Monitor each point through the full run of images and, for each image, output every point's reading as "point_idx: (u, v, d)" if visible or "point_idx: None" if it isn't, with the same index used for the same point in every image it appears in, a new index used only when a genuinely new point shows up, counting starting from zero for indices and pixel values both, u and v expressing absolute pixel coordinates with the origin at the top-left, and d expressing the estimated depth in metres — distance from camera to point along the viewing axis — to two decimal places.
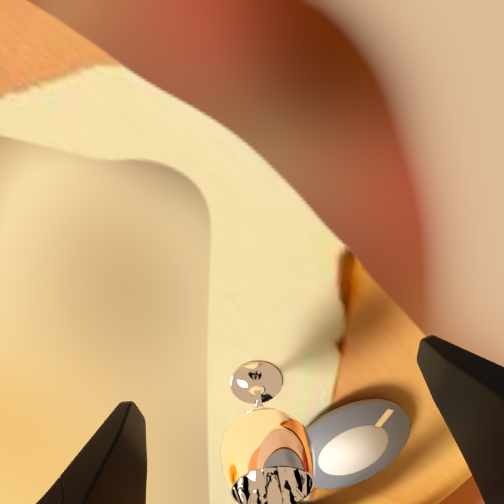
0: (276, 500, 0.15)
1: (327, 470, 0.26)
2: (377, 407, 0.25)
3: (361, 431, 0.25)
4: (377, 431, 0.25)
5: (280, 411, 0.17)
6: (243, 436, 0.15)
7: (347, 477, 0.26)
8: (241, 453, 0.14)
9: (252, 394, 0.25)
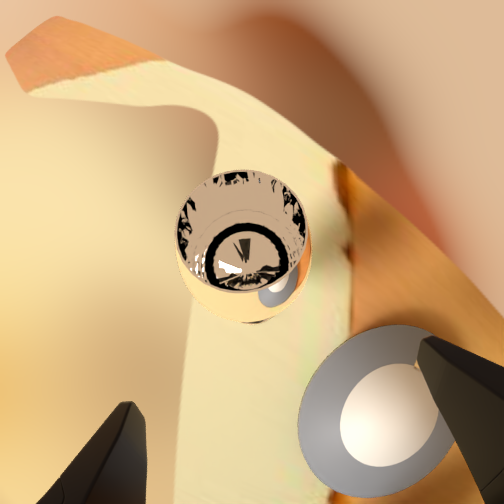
0: (251, 303, 0.11)
1: (355, 453, 0.17)
2: (411, 333, 0.19)
3: (397, 375, 0.18)
4: (420, 379, 0.18)
5: None
6: None
7: (388, 473, 0.16)
8: None
9: None
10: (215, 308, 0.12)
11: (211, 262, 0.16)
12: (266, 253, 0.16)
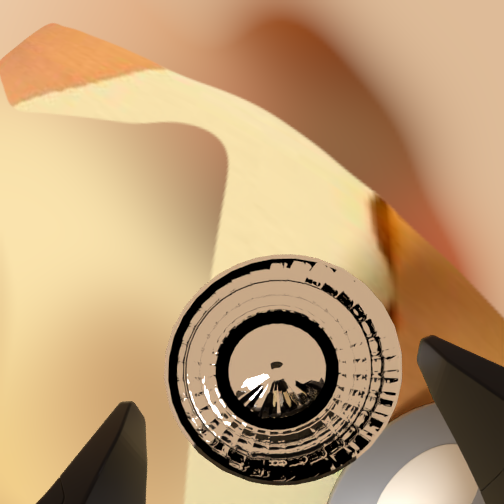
0: None
1: None
2: None
3: (441, 458, 0.12)
4: None
5: None
6: None
7: None
8: None
9: None
10: None
11: (224, 361, 0.11)
12: (302, 346, 0.11)
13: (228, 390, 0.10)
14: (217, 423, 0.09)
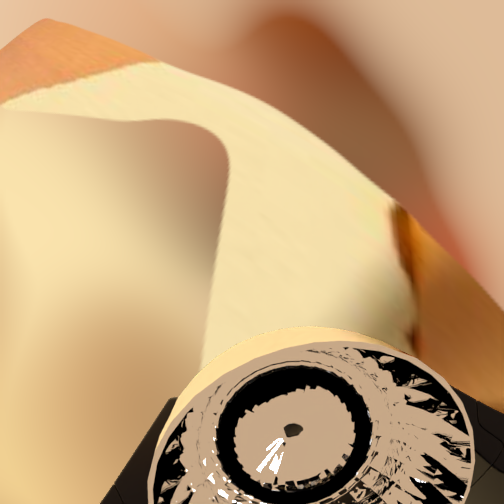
0: None
1: None
2: None
3: None
4: None
5: None
6: (236, 345, 0.06)
7: None
8: (219, 359, 0.05)
9: None
10: None
11: (228, 422, 0.08)
12: (324, 402, 0.08)
13: (233, 454, 0.08)
14: (221, 497, 0.06)
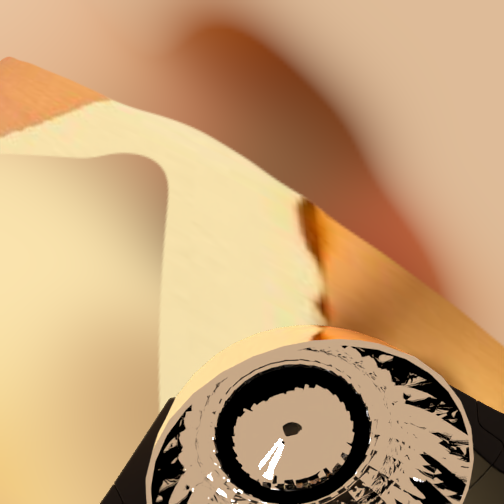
0: None
1: None
2: None
3: None
4: None
5: None
6: (234, 343, 0.06)
7: None
8: (217, 358, 0.05)
9: None
10: None
11: (227, 421, 0.08)
12: (323, 401, 0.08)
13: (232, 453, 0.08)
14: (220, 496, 0.06)
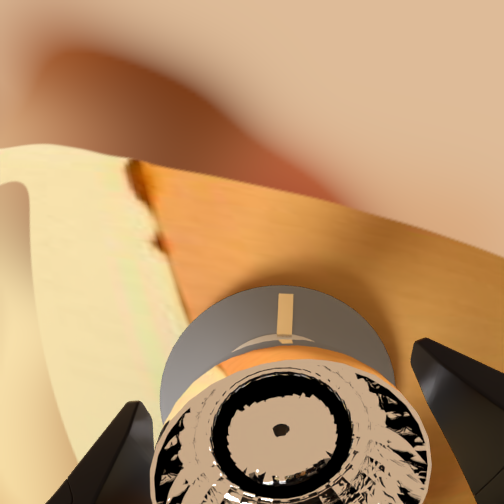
0: None
1: None
2: (254, 297, 0.17)
3: None
4: None
5: None
6: (227, 355, 0.07)
7: None
8: (210, 369, 0.06)
9: None
10: None
11: (222, 422, 0.09)
12: (310, 404, 0.09)
13: (227, 451, 0.08)
14: (215, 490, 0.07)
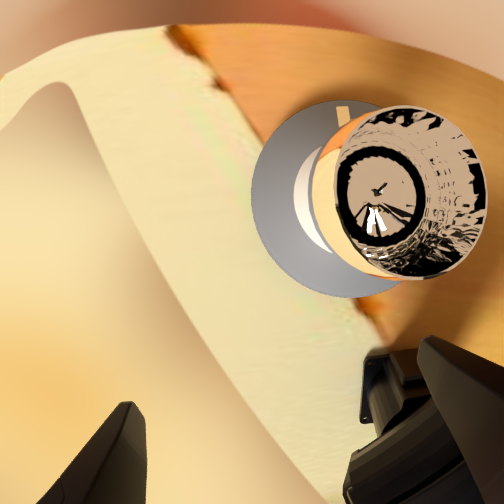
0: None
1: None
2: (316, 111, 0.18)
3: None
4: None
5: None
6: None
7: None
8: (343, 127, 0.08)
9: None
10: None
11: None
12: (390, 175, 0.12)
13: None
14: None
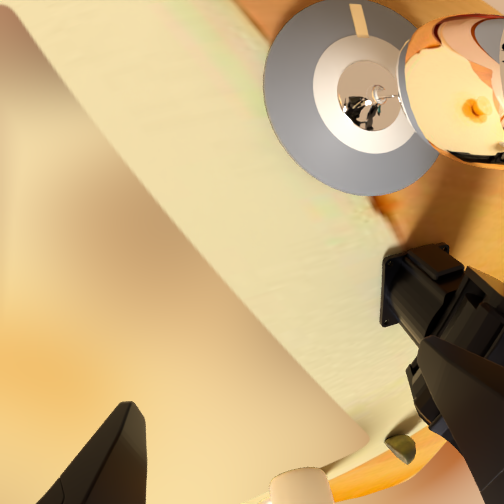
0: None
1: (364, 147, 0.17)
2: (330, 6, 0.13)
3: (347, 51, 0.15)
4: (372, 44, 0.15)
5: None
6: (447, 18, 0.06)
7: (409, 151, 0.17)
8: (468, 21, 0.05)
9: (370, 109, 0.16)
10: (488, 166, 0.08)
11: None
12: None
13: None
14: None
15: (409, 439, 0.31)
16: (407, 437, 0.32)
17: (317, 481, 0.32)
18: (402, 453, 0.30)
